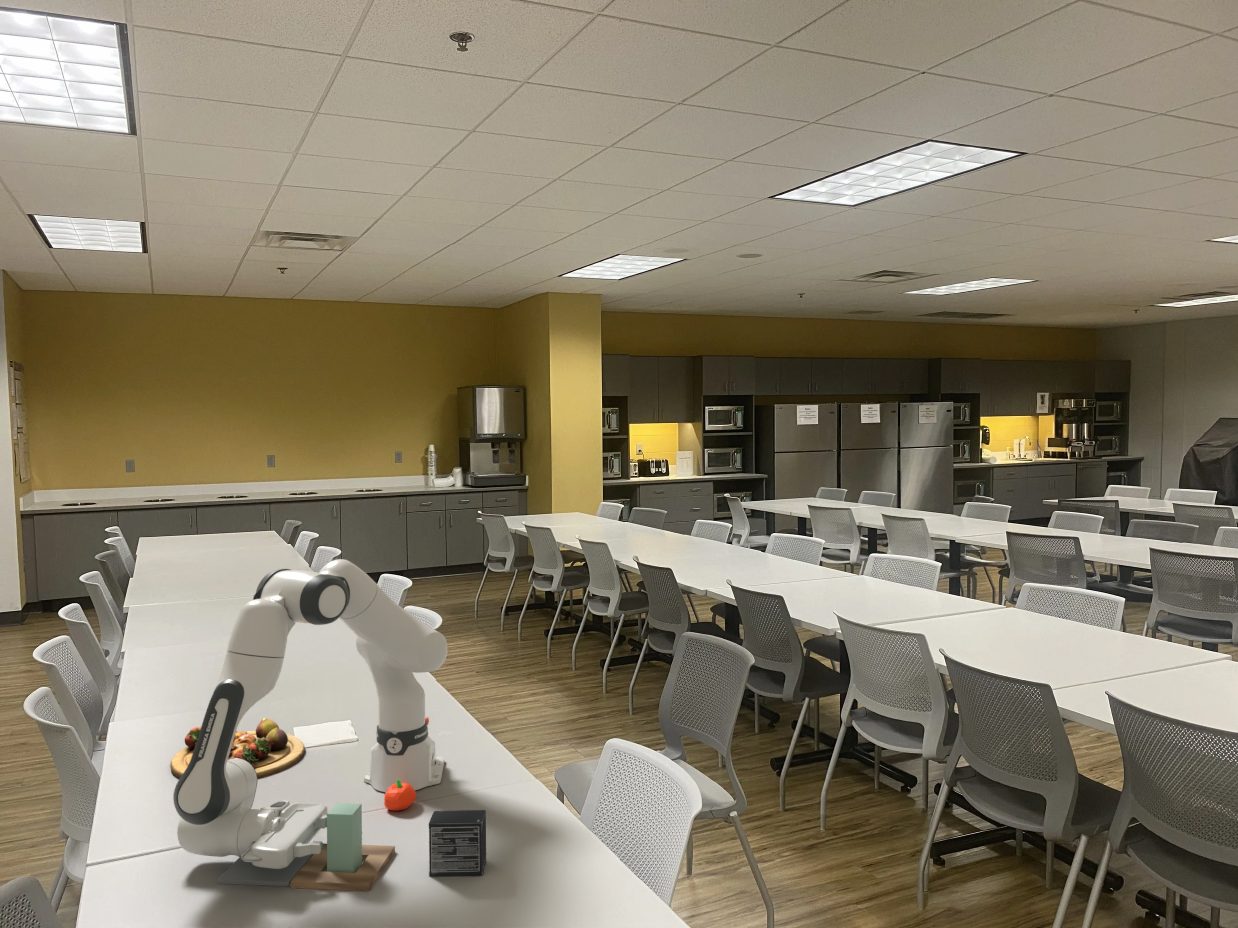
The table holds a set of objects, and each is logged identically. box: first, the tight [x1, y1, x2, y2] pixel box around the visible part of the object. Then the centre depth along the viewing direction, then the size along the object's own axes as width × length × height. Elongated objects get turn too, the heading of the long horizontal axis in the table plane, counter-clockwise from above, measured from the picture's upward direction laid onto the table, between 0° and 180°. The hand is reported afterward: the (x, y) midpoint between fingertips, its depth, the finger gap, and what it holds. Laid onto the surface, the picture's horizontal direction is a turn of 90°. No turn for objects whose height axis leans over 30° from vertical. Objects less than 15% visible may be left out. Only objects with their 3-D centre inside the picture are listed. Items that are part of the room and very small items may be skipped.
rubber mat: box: [216, 854, 314, 887], centre depth 171 cm, size 14×14×1 cm
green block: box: [326, 802, 363, 873], centre depth 170 cm, size 5×5×12 cm
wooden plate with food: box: [169, 717, 306, 779], centre depth 226 cm, size 32×32×8 cm
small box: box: [428, 809, 487, 877], centre depth 170 cm, size 11×6×10 cm, turn 92°
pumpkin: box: [383, 779, 417, 812], centre depth 197 cm, size 7×8×6 cm
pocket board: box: [290, 842, 396, 892], centre depth 170 cm, size 15×15×1 cm
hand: (331, 835), depth 170 cm, fingers open, 8 cm apart
